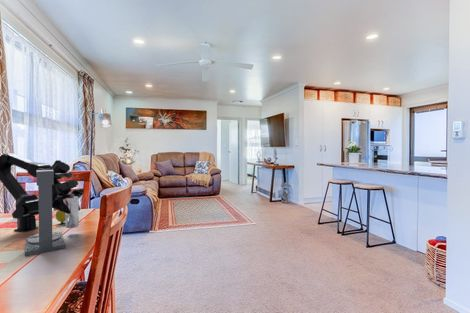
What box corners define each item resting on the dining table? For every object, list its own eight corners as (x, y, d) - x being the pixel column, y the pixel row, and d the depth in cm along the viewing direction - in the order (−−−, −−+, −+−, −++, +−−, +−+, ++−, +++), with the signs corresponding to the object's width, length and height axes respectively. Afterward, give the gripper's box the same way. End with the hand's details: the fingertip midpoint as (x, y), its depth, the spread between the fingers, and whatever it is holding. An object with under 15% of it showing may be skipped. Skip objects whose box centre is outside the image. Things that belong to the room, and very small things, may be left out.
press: (26, 241, 105) (25, 168, 104) (68, 234, 114) (68, 166, 113) (24, 257, 90) (23, 172, 89) (73, 247, 99) (73, 170, 98)
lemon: (54, 224, 126) (54, 208, 126) (56, 222, 131) (56, 206, 131) (68, 223, 129) (68, 207, 129) (69, 220, 134) (69, 205, 134)
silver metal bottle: (62, 227, 112) (62, 194, 111) (71, 224, 117) (71, 192, 116) (73, 228, 111) (72, 195, 111) (81, 224, 116) (81, 193, 116)
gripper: (44, 176, 105) (67, 204, 103) (81, 172, 123) (101, 196, 121) (29, 194, 107) (51, 222, 105) (67, 187, 125) (86, 211, 123)
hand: (74, 211), depth 114 cm, fingers closed on silver metal bottle, 5 cm apart
